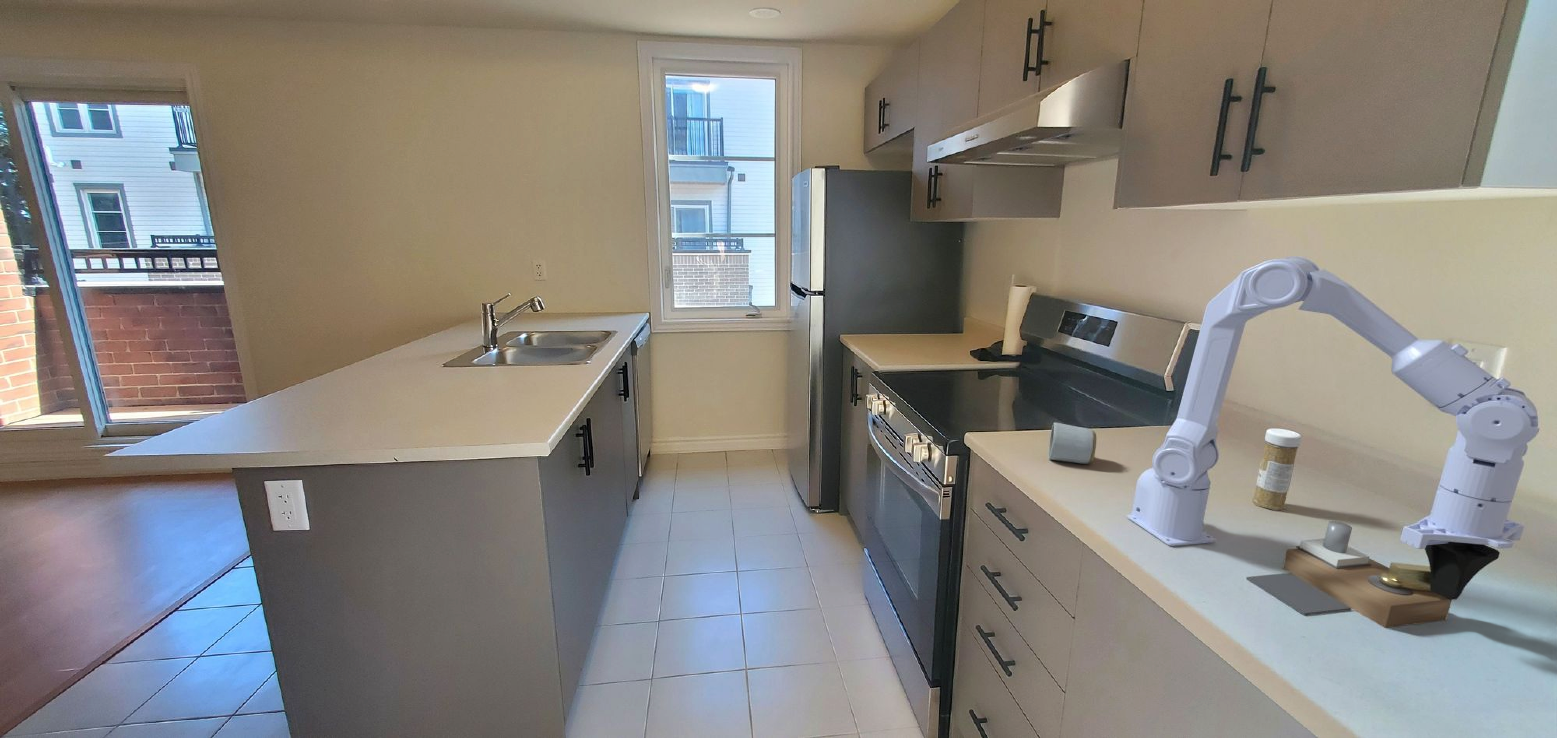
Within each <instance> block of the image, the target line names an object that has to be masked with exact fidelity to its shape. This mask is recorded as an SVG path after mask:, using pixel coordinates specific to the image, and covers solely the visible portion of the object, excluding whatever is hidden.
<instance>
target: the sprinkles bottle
mask: <svg viewBox="0 0 1557 738" xmlns="http://www.w3.org/2000/svg"><path fill="white" fill-rule="evenodd" d="M1264 436H1265V438H1264V440H1265V441H1264V443H1265V445H1264V448H1263V452H1262V458H1261V461H1260V463H1259V464H1260V465H1259V469H1258V473H1257V479H1256V483H1255V484H1256V485H1255V491H1254V496H1253V497H1252V502H1253V503H1254V504H1255V505H1256V506H1259V507H1260V508H1261V507H1262V508H1265V509H1269V510H1274V511H1281V510H1285V508H1286V501H1287V495H1288V492H1289V488H1290V484H1291V481H1292V477H1293V472H1294V471H1293V470H1294V467H1295V459H1296V455H1297V451H1298V449H1299V446H1301V445H1300V444H1301V439H1302V436H1301V434H1300V433H1298V432H1296V431H1292V430H1291V429H1290V430H1288V429H1283V428H1269V429H1267V430H1266V433H1265V435H1264Z"/></svg>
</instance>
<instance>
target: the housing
mask: <svg viewBox="0 0 1557 738" xmlns="http://www.w3.org/2000/svg"><path fill="white" fill-rule="evenodd" d="M1283 561H1284V562H1283V566H1282V569H1284V570H1285V571H1287V573H1292V574H1293V575H1295V576H1297V577H1299V578H1300V579H1302V580H1304V581H1306V582H1307V583H1309V584H1311V585H1313V586H1314V587H1316V588H1318V589H1319V590H1321V591H1323V592H1325V593H1326V594H1328V595H1330V596H1332V597H1333V598H1335V599H1337V600H1338V601H1340V602H1342V603H1344V604H1345V605H1347V606H1349V607H1351V610H1354V611H1356V612H1357V613H1358V614H1361V615H1363V616H1365V617H1366V618H1368V619H1370V620H1371V621H1373V622H1375V623H1377V624H1378V625H1380V626H1382V627H1383V628H1391V627H1400V626H1401V627H1402V626H1408V625H1409V626H1410V625H1416V624H1427V623H1434V622H1444V621H1447V618H1448V614H1449V611H1450V608H1451V605H1452V602H1453V600H1449V599H1447V598H1445V597H1443V596H1441V595H1439V594H1437V593H1435V592H1433V591H1428V590H1419V589H1410V588H1393V587H1389V586H1386V585H1384V584H1382V583H1381V582H1380V581H1379V579H1380V575H1381V574H1383V573H1385V574H1388V572H1389V568H1390V567H1388V566H1386V565H1384V564H1382V563H1380V562H1378V561H1376V560H1374V559H1372V558H1370V557H1369V561H1368V563H1366V564H1356V565H1346V566H1335V565H1333V564H1331V563H1329V562H1327V561H1325V560H1323V559H1321V558H1319V557H1318V556H1316V555H1314V554H1312V553H1310V552H1308V551H1306V550H1304V549H1302V548H1300V545H1296V548H1287V549H1286V553H1285V558H1284V560H1283Z"/></svg>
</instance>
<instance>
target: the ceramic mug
mask: <svg viewBox="0 0 1557 738" xmlns="http://www.w3.org/2000/svg"><path fill="white" fill-rule="evenodd" d="M1096 449H1097V433H1096V432H1095V431H1094V430H1092V429H1090V428H1087V427H1082V426H1081V427H1080V426H1076V425H1071V424H1065V423H1061V422H1053V424H1052V427H1051V430H1050V436H1049V443H1048V455H1047V458H1048V460H1050V461H1051V460H1052V461H1060V462H1067V463H1074V464H1082V465H1083V464H1084V465H1085V464H1091V463H1092V462H1093V460H1094V458H1095V455H1096Z"/></svg>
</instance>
